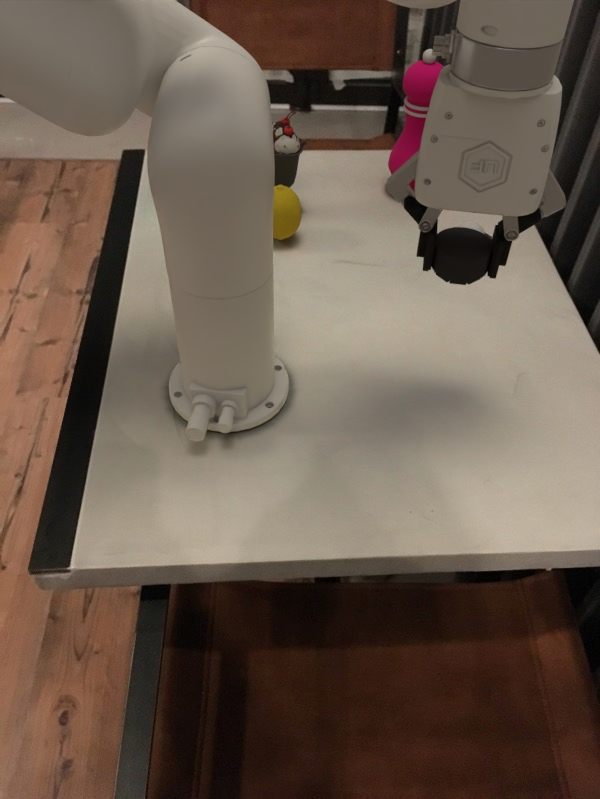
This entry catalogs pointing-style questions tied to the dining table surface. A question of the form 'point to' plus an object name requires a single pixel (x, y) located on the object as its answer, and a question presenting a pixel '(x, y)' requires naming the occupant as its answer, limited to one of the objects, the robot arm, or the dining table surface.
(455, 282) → the puck
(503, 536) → the dining table surface
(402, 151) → the pepper mill
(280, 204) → the lemon
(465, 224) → the golf ball
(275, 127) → the sundae
